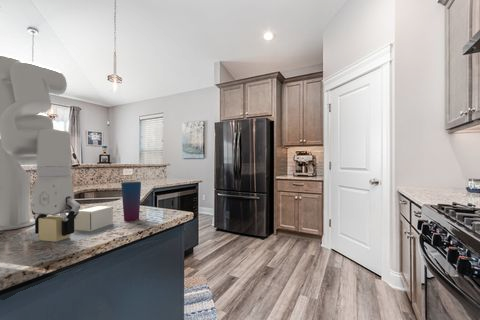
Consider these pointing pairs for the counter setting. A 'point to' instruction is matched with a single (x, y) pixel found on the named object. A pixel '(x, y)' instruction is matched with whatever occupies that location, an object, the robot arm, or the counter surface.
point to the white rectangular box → (93, 218)
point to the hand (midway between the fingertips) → (54, 233)
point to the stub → (51, 228)
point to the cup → (131, 200)
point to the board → (80, 234)
